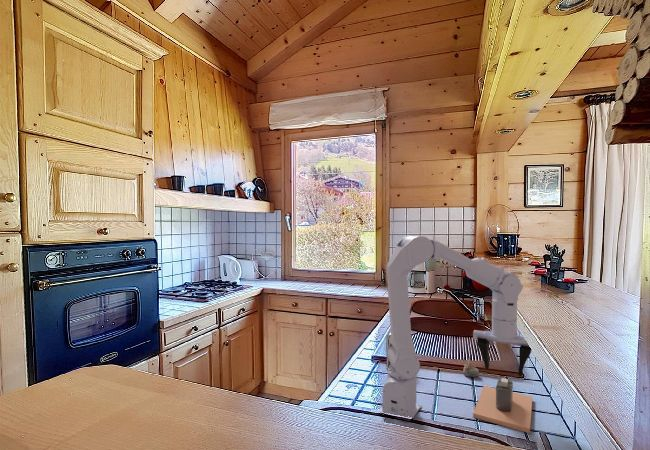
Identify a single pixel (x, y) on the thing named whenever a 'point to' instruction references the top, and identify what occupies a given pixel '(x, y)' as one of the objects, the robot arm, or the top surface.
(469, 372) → the figurine
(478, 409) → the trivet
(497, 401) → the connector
